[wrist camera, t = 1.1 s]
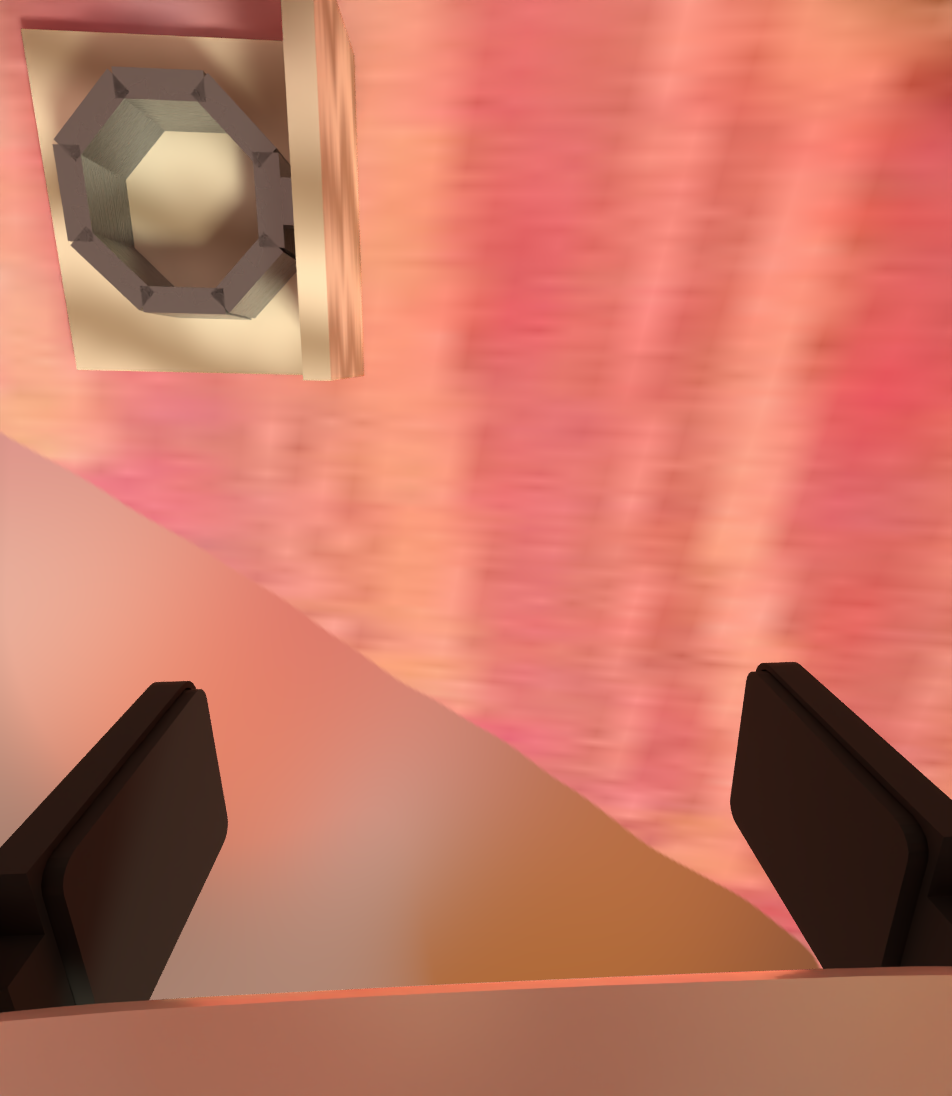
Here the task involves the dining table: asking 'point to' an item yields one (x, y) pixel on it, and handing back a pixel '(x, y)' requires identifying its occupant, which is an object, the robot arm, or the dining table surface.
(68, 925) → the robot arm
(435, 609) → the dining table surface
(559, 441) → the dining table surface
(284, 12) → the holder
